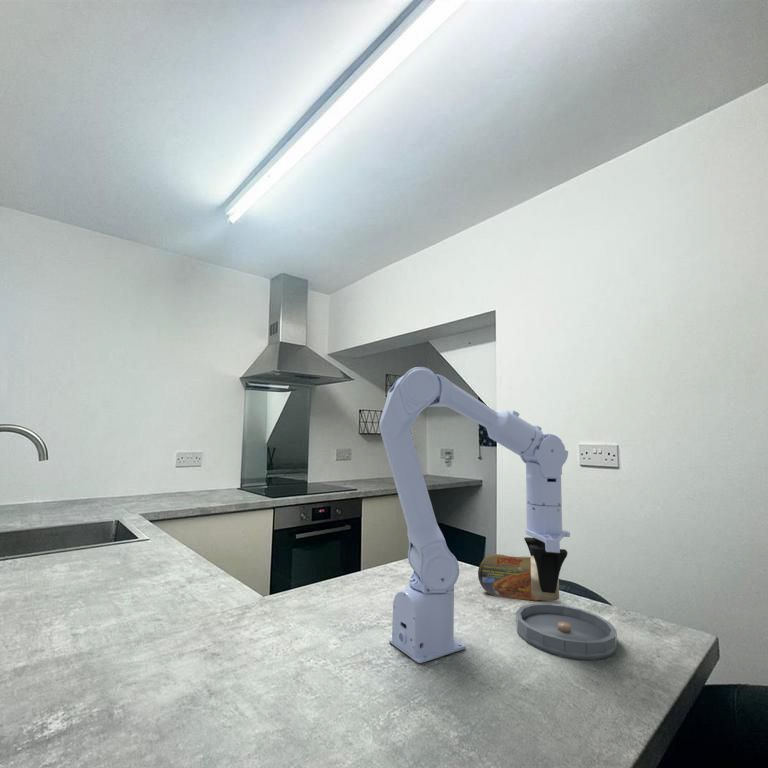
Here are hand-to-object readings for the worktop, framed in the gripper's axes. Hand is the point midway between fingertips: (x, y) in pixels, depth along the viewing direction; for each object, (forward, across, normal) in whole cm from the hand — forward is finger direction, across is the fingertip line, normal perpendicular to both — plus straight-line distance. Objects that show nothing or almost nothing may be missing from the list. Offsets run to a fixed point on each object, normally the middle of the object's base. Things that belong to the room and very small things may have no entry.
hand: (545, 586), depth 71 cm
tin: (+9, +20, +3) cm, 22 cm away
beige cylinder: (+1, 0, 0) cm, 1 cm away
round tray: (+8, +2, -3) cm, 9 cm away
